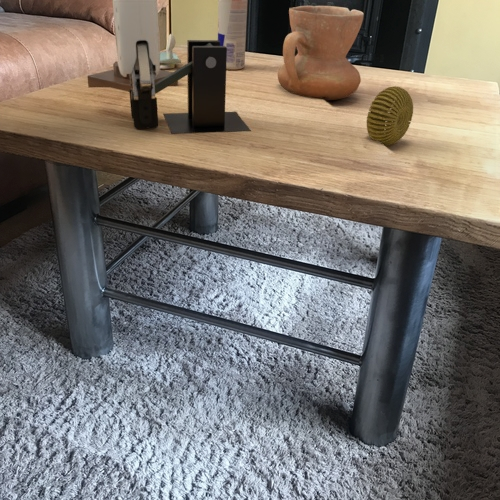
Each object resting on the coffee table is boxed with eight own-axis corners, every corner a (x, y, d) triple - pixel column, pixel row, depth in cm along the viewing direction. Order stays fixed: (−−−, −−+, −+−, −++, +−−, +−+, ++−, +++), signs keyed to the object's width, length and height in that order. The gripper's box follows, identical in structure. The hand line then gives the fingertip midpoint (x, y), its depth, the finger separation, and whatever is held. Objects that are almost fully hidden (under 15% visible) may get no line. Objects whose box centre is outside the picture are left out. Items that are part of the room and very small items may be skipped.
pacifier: (152, 72, 109) (183, 70, 111) (150, 38, 106) (181, 37, 108) (147, 63, 115) (176, 62, 117) (145, 31, 112) (175, 30, 114)
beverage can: (248, 66, 117) (252, -13, 109) (238, 72, 112) (242, -10, 105) (223, 63, 119) (225, -15, 111) (212, 68, 114) (214, -13, 106)
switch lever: (140, 115, 75) (127, 95, 74) (138, 108, 78) (125, 88, 76) (223, 65, 75) (212, 43, 73) (218, 60, 77) (207, 39, 76)
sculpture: (388, 135, 83) (398, 79, 78) (412, 142, 80) (423, 85, 76) (356, 146, 77) (365, 88, 73) (381, 154, 75) (392, 95, 71)
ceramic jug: (318, 80, 110) (326, 1, 102) (378, 97, 101) (392, 12, 93) (250, 93, 99) (254, 6, 92) (311, 114, 90) (321, 19, 83)
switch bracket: (171, 142, 75) (169, 50, 69) (163, 121, 83) (160, 37, 77) (250, 138, 78) (255, 50, 72) (235, 119, 85) (238, 37, 79)
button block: (133, 99, 92) (131, 74, 90) (88, 88, 96) (86, 64, 94) (178, 85, 101) (177, 62, 99) (135, 76, 105) (134, 54, 103)
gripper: (99, -31, 74) (113, 107, 84) (105, -18, 60) (121, 145, 70) (156, -30, 76) (164, 104, 85) (174, -18, 62) (180, 141, 72)
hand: (144, 121), depth 77 cm, fingers open, 3 cm apart
